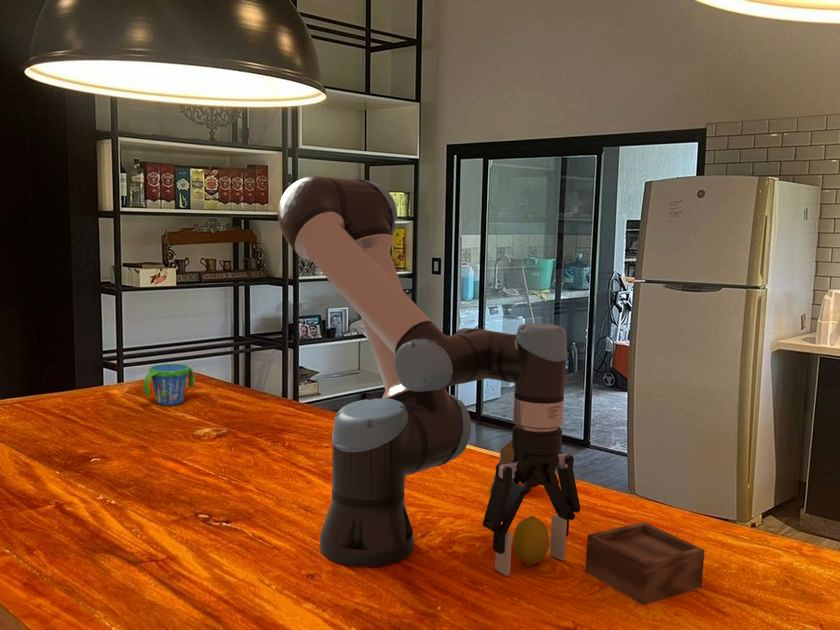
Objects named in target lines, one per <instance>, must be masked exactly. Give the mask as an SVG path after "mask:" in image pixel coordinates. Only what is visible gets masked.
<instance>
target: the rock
mask: <svg viewBox="0 0 840 630" xmlns="http://www.w3.org/2000/svg"><path fill="white" fill-rule="evenodd" d="M499 452H500V453H499V459H498V463H502V464H504V465H505V464H510V463H512V461H513V458H514V451H513V448H512V439H511V440H510V441H509V442H508V443H506V444H505V445H504V446H503V447H502V448H500V450H499ZM498 463H497V464H498ZM513 475H514V474H513ZM495 479H496V472H495V474H494V475H493V479H492V483H491V486H490V490H489V493H490V494H491V492H492V489H493V485H494V482H495Z"/></svg>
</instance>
